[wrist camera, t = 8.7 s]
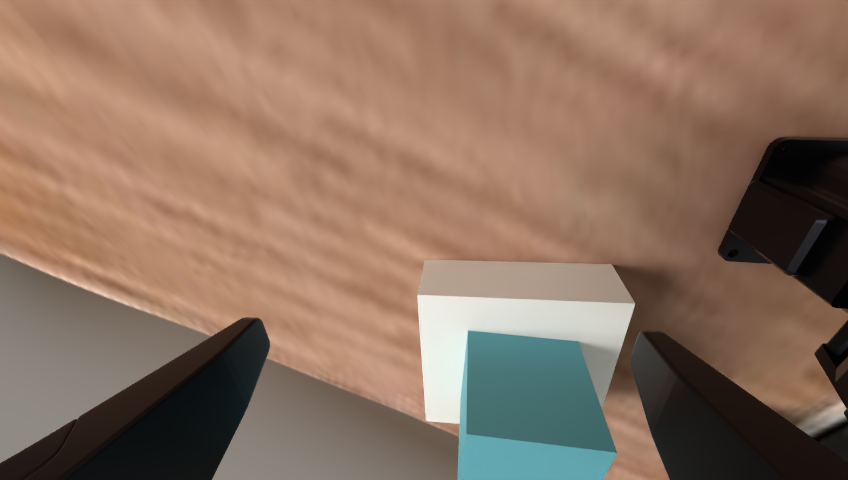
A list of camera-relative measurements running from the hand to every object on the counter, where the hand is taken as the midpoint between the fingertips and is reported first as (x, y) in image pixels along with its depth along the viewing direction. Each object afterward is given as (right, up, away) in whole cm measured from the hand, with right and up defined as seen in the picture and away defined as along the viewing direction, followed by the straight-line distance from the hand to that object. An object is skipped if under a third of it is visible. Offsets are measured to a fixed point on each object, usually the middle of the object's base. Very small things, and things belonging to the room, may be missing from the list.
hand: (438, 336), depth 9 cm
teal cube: (+5, -6, +13) cm, 15 cm away
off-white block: (+5, -4, +16) cm, 17 cm away
